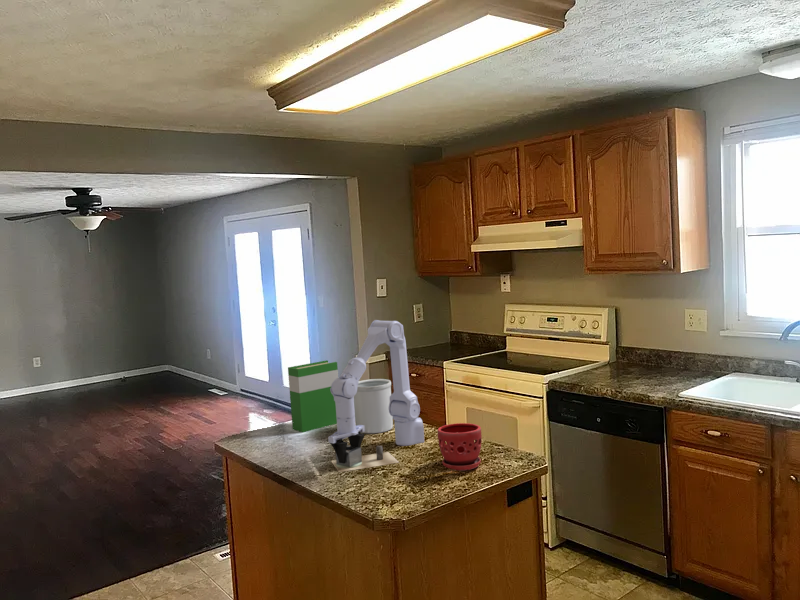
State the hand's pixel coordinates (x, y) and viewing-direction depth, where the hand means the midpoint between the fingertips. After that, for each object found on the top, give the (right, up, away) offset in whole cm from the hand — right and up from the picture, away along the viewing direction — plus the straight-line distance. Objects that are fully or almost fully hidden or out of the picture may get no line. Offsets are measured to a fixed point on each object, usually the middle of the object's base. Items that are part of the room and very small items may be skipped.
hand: (348, 459), depth 206 cm
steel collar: (0, -1, 0) cm, 1 cm away
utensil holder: (+6, +1, +43) cm, 43 cm away
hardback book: (-16, 0, +52) cm, 55 cm away
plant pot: (+34, -1, -5) cm, 35 cm away
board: (+5, -2, +2) cm, 6 cm away
